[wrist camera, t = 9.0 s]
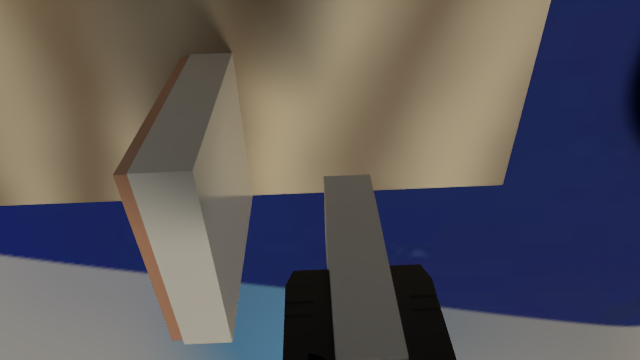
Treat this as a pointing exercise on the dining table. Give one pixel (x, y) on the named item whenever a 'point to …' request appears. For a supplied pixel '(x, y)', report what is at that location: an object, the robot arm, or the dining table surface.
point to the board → (269, 88)
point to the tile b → (192, 197)
